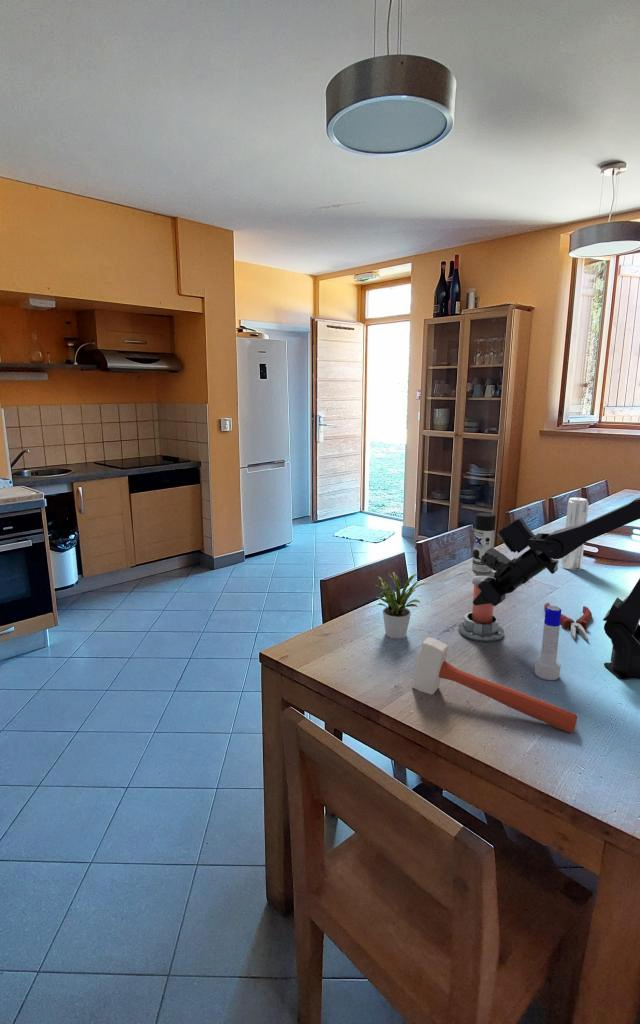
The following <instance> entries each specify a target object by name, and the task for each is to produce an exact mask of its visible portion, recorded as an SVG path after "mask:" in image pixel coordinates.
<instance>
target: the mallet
mask: <svg viewBox="0 0 640 1024" xmlns="http://www.w3.org/2000/svg"><path fill="white" fill-rule="evenodd" d="M448 650H449V645H448V644H446V643H444V642H443V641H440V640H438V639H437V638H433V637H429V636H427V637H426V638H425V639H424V640H423V642H422V644H421V649H420V652H419V655H418V657H417V660H416V665H415V669H414V670H415V671H414V677H413V680H412V683H411V688H413V689H415V690H417V691H419V692H422V693H425V694H428V695H434V694H435V693H436V691H438V689H439V688H440V685H441V681H442V679H444V680H447V681H448V680H449V681H452V682H455V683H456V684H459V685H461V686H464V687H466V688H468V689H471V690H473V691H474V692H478V693H479V694H480V695H484V696H485V697H488V698H490V699H492V700H494V701H496V702H498V703H501V704H503V705H505V706H506V707H508V708H511V709H512V710H515V711H517V712H520V713H522V714H524V715H526V716H529V717H531V718H533V719H535V720H537V721H540V722H542V723H545V724H546V725H549V726H552V727H554V728H557V729H558V730H562V731H564V732H566V733H569V734H573V733H574V732H575V729H576V726H577V722H578V715H577V713H574V712H572V711H569V710H566V709H565V708H562V707H559V706H557V705H554V704H552V703H549V702H546V701H544V700H541V699H538V698H536V697H533V696H531V695H528V694H526V693H524V692H520V691H518V690H516V689H513V688H510V687H507V686H504V685H502V684H499V683H496V682H493V681H491V680H488V679H485V678H482V677H479V676H476V675H474V674H471V673H469V672H466V671H464V670H461V669H458V668H457V667H456V666H455V665H453V664H450V662H448V661H446V660H447V656H448Z"/></svg>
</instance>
